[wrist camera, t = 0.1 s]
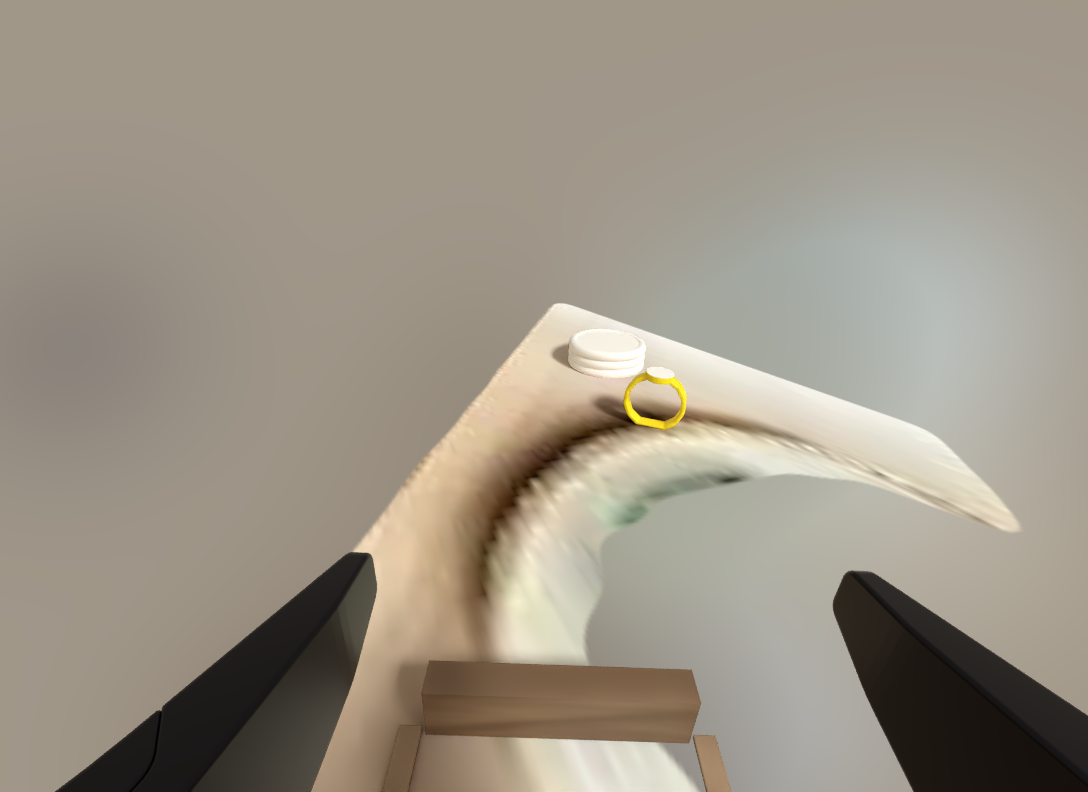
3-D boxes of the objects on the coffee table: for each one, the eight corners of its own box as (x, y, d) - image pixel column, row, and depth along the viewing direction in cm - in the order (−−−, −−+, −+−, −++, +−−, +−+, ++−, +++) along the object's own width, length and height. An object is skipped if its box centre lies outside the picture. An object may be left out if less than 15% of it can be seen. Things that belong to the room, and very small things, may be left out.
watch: (680, 426, 49) (694, 374, 46) (677, 439, 47) (692, 385, 44) (623, 411, 50) (634, 360, 48) (617, 423, 48) (629, 370, 45)
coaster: (632, 386, 57) (635, 359, 55) (555, 370, 60) (557, 344, 59) (650, 359, 65) (654, 335, 64) (582, 346, 69) (584, 323, 67)
